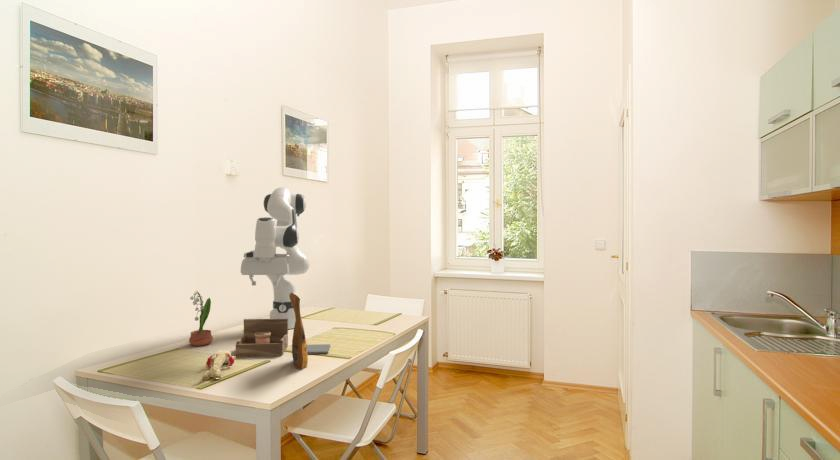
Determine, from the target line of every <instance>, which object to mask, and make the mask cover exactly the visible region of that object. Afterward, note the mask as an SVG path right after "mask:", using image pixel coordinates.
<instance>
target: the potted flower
mask: <svg viewBox="0 0 840 460" xmlns="http://www.w3.org/2000/svg"><path fill="white" fill-rule="evenodd" d="M189 299H190V300H193V301H192V305H194V306H195V305H196V306H199V305H200V309H199V307H195V310H194V311H197V313H196V317H194V321H196V322H197V321H199V327H198V329H197V330H193V331H191V332H190V337H189V339H188V343H189V345H191V346H194V347H200V346H201V347H202V346H207V345H210V344H211V343H213V340H214V339H213V338H214V337H213V336H212V330H210V329H204V326H205V324H206V322H207V319H208V317H209V315H210V311H211V307H212V306H211V305H212V304H211V303H212V301H211V298H210V297H208V298H207V299H206V301H205V304H204V300H203V296H202V295H201V293H200V292H199V291H198V290H196V291H194V293H193V295H192V296H190V297H189ZM198 302H200V303H198ZM199 312H200V314H199V317H198V313H199Z"/></svg>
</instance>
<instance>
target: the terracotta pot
mask: <svg viewBox="0 0 840 460" xmlns="http://www.w3.org/2000/svg"><path fill="white" fill-rule="evenodd" d="M270 336H271V332H266V331H264V332H257V333H255V334H254V337H255V344H266V343H270Z"/></svg>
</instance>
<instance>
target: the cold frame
mask: <svg viewBox="0 0 840 460" xmlns="http://www.w3.org/2000/svg"><path fill="white" fill-rule="evenodd" d="M264 331H266V332H271V336H270V343H266V344H255V337H254V334H255V333H257V332H264ZM235 343H236V344H235V356H236V358H237V357H238V358H239V357H240V358H241V357H273V356H274V357H278V356H280V357H281V356H283V355H284V353H285V352H286V350H287V349H288V346H289V329H288V318H284V319H270V318H244V319H243V335H242V336H241V337H239V339H238V340H236V342H235ZM286 348H287V349H286Z"/></svg>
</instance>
